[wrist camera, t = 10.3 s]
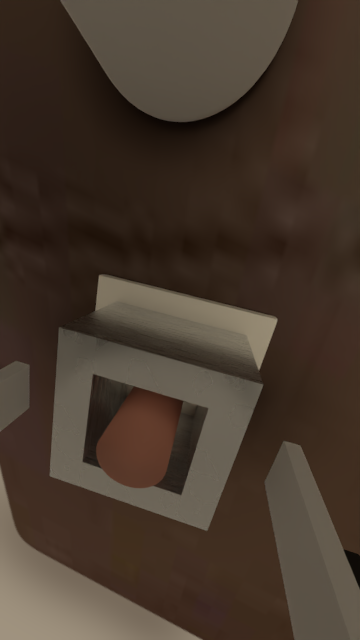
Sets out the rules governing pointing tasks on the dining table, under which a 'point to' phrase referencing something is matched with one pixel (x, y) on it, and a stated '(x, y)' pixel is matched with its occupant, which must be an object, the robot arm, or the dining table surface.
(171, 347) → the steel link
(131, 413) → the peg stand
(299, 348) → the dining table surface
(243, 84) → the cup
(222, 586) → the dining table surface
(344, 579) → the robot arm
